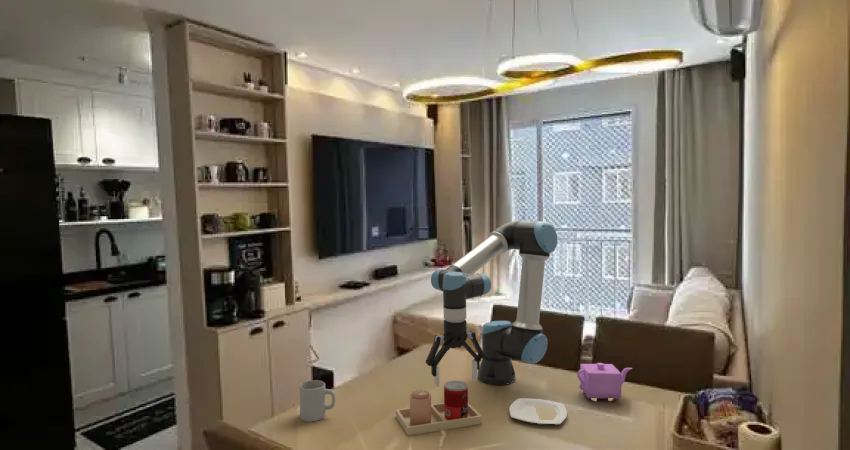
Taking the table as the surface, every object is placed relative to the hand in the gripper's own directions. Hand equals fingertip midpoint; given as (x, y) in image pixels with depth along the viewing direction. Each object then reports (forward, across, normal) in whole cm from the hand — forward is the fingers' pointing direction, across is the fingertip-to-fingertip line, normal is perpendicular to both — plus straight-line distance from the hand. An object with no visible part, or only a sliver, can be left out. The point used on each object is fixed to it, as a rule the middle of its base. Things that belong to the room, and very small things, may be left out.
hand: (455, 382), depth 167 cm
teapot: (+14, -58, +1) cm, 60 cm away
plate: (+14, -27, +6) cm, 31 cm away
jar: (+12, +13, 0) cm, 17 cm away
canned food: (+12, 0, 0) cm, 12 cm away
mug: (+12, +44, -17) cm, 48 cm away
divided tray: (+12, +7, 0) cm, 14 cm away
